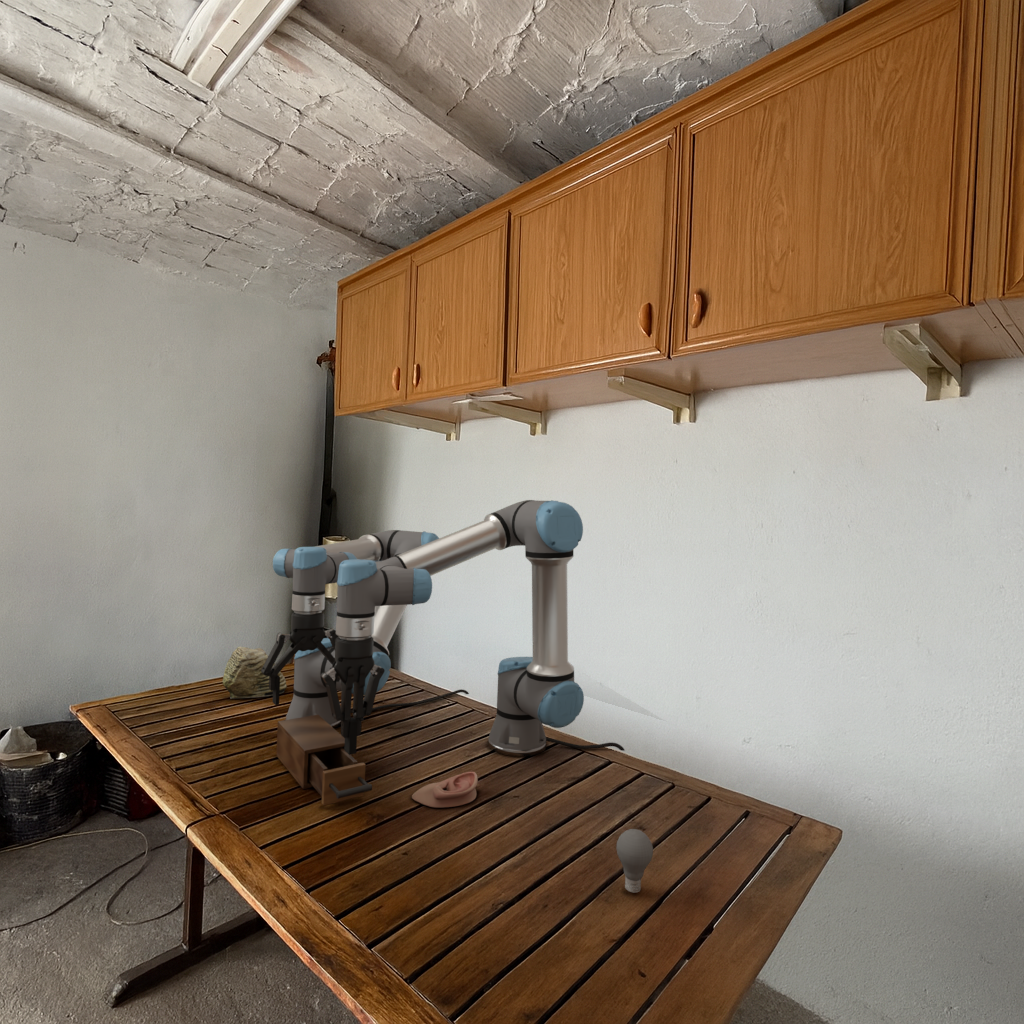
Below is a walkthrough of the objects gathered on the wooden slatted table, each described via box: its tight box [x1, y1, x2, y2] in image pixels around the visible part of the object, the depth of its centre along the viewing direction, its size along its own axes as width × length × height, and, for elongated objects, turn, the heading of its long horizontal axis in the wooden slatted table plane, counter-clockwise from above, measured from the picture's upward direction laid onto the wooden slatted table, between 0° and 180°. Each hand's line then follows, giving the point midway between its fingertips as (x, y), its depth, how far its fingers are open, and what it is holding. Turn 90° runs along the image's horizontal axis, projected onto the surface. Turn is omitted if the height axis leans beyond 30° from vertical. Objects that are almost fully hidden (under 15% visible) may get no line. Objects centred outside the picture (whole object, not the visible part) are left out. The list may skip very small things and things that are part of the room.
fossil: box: [222, 646, 288, 699], centre depth 198 cm, size 9×18×15 cm, turn 132°
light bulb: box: [615, 828, 654, 894], centre depth 106 cm, size 6×6×10 cm
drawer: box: [307, 747, 373, 806], centre depth 136 cm, size 25×9×7 cm, turn 36°
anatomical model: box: [411, 771, 479, 809], centre depth 136 cm, size 13×4×12 cm
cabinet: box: [276, 715, 345, 790], centre depth 148 cm, size 20×10×8 cm, turn 36°
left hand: (304, 699), depth 152 cm, fingers open, 13 cm apart
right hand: (350, 751), depth 129 cm, fingers closed
